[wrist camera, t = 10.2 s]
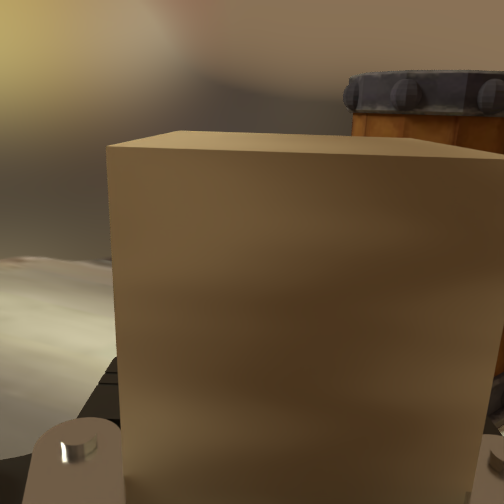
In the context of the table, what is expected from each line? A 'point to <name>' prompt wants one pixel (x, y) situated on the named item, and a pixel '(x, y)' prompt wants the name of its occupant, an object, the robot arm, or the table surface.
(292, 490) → the maple pillar
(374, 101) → the mug
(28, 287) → the table surface
